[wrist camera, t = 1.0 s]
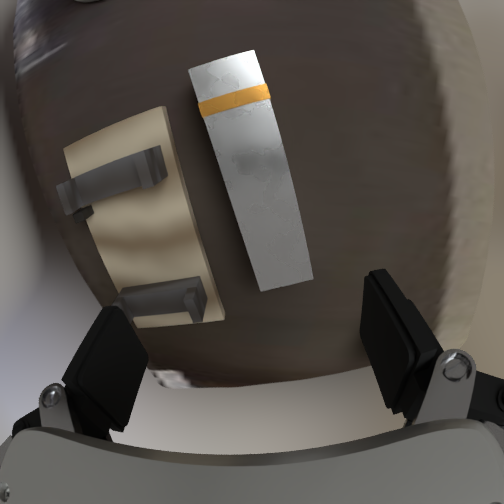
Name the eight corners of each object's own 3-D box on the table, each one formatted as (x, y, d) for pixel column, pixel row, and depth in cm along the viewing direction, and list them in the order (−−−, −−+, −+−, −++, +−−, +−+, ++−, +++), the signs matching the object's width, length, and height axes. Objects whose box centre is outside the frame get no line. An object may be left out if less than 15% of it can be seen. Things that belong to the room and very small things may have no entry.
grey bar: (199, 79, 20) (186, 69, 16) (254, 62, 20) (255, 49, 15) (258, 264, 29) (259, 292, 25) (305, 252, 29) (314, 279, 24)
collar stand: (69, 146, 22) (39, 156, 18) (165, 106, 21) (144, 104, 17) (140, 322, 33) (128, 349, 29) (225, 313, 32) (221, 344, 28)
